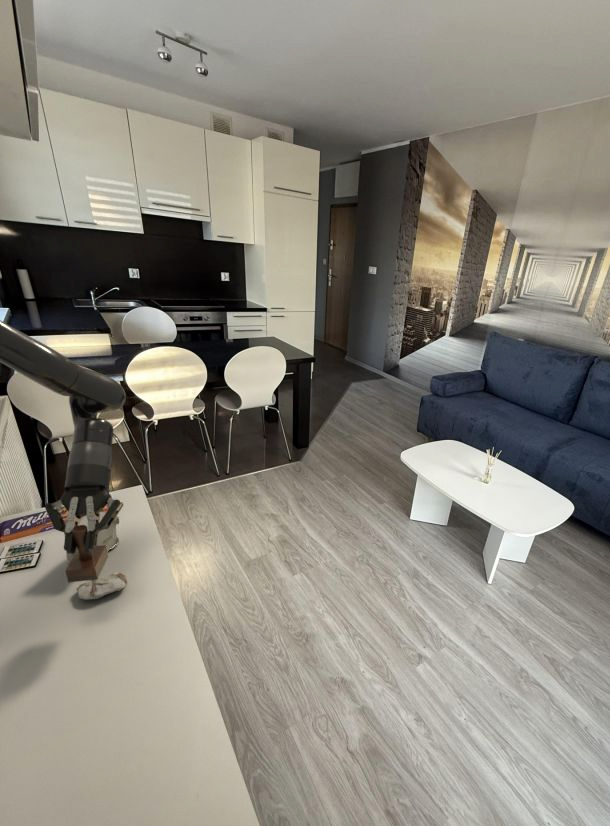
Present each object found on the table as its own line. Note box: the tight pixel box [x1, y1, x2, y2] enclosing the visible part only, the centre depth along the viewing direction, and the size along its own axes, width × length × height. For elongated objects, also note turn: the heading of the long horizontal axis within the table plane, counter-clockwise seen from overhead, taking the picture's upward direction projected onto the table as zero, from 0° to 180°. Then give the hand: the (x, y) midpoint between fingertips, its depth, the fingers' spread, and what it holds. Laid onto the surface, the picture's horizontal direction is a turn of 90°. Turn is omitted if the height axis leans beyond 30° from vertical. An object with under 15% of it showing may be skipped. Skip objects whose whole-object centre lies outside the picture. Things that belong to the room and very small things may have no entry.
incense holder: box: [63, 511, 120, 563], centre depth 99 cm, size 10×8×10 cm
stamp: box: [64, 525, 109, 583], centre depth 79 cm, size 5×7×10 cm
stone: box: [75, 571, 128, 600], centre depth 90 cm, size 10×7×3 cm
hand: (79, 552), depth 76 cm, fingers closed on stamp, 2 cm apart
